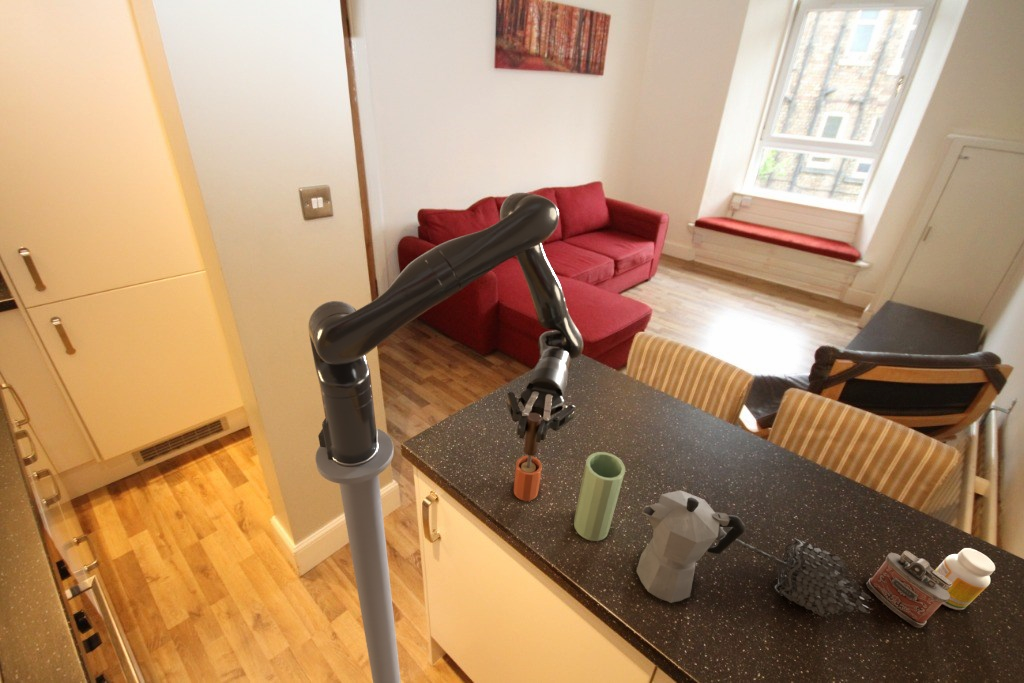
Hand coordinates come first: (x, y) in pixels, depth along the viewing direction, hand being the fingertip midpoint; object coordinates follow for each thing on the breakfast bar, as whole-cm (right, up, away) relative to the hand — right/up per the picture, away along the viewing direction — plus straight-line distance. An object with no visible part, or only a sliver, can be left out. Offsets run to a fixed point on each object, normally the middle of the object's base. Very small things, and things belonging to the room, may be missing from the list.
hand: (530, 436), depth 77 cm
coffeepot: (+23, -23, -3) cm, 33 cm away
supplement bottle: (+69, -26, -2) cm, 74 cm away
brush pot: (0, -13, +11) cm, 17 cm away
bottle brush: (0, -13, +10) cm, 16 cm away
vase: (+11, -17, +5) cm, 21 cm away
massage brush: (+41, -24, -3) cm, 48 cm away
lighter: (+59, -26, -4) cm, 65 cm away
